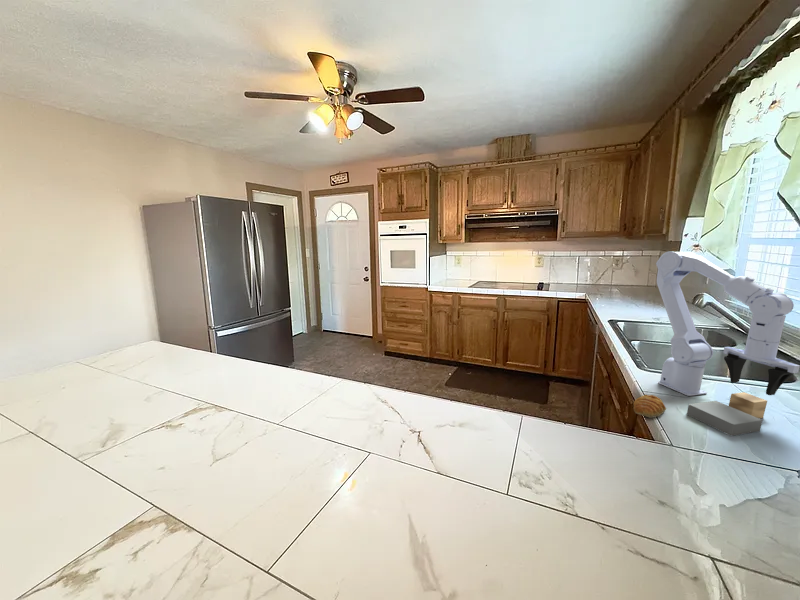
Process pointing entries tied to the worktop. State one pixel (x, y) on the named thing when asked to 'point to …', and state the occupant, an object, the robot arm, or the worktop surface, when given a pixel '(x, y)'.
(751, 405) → the oak block
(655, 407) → the pastry
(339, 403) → the worktop surface
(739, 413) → the gray block
